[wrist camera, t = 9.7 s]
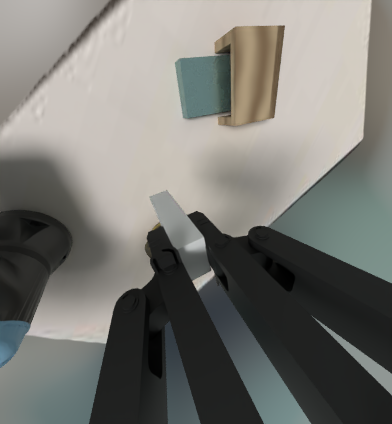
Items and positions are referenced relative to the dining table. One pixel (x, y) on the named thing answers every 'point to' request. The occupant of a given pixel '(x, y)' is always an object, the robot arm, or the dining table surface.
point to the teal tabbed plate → (204, 85)
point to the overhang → (252, 72)
